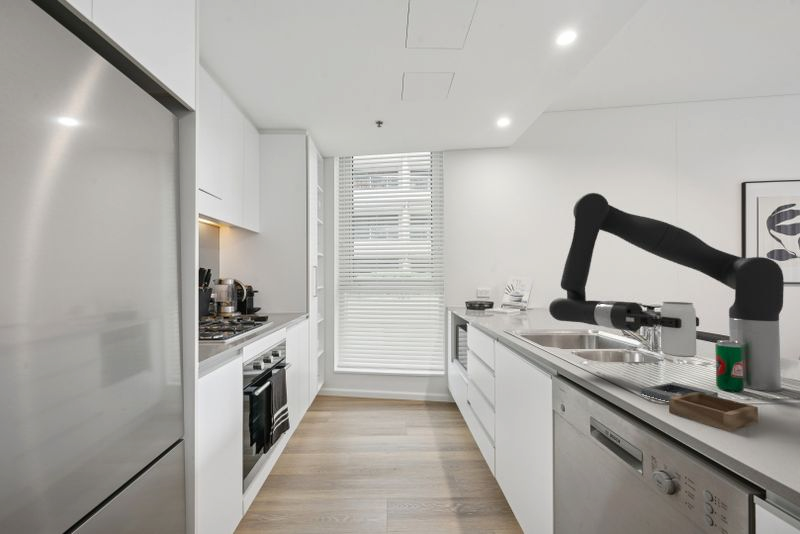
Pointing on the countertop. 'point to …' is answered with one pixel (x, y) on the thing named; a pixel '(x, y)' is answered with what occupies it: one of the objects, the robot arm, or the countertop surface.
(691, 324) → the can
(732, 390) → the soda can
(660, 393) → the gray rectangular tray
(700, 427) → the countertop surface
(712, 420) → the open wooden box
